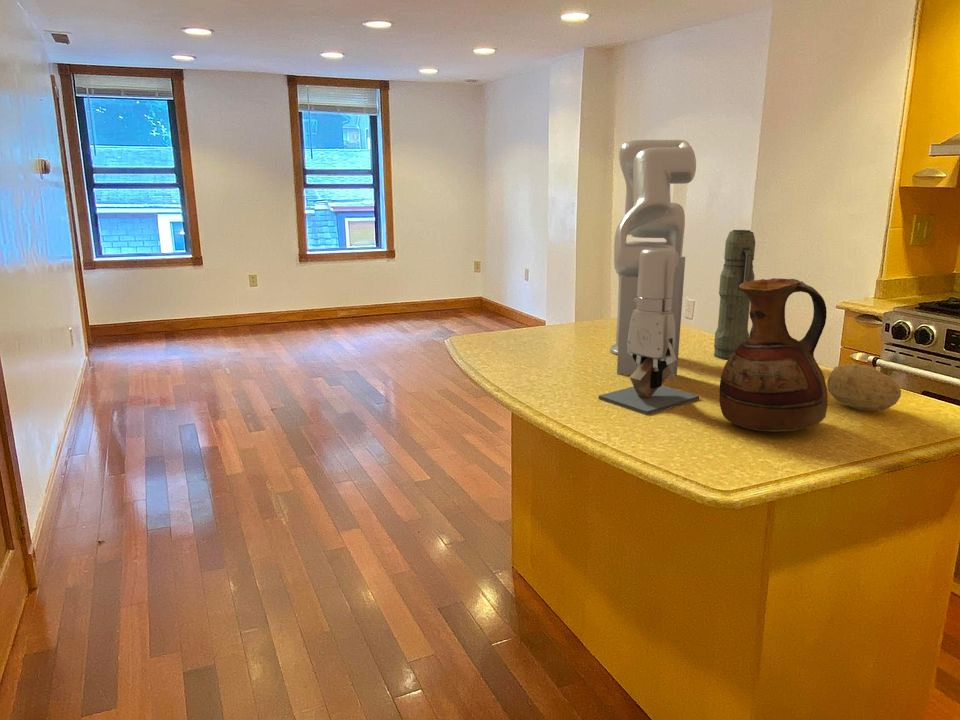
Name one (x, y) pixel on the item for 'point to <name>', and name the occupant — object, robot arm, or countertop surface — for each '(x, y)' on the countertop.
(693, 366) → the countertop surface
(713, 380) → the countertop surface
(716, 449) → the countertop surface
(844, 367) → the potato
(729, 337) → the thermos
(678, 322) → the thin beige panel
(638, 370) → the brown angular block
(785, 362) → the ceramic pitcher
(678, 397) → the mat
